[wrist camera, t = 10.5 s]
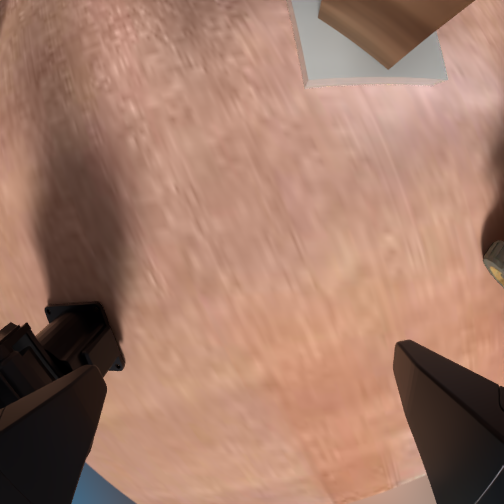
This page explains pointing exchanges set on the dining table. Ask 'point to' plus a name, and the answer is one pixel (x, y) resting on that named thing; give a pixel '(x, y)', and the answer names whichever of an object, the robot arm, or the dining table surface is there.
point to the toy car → (495, 261)
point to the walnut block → (388, 23)
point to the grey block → (355, 55)
